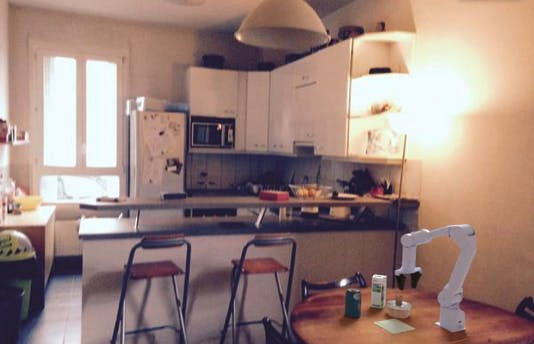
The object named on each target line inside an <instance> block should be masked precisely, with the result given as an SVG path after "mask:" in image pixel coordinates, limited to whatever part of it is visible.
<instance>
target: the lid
mask: <svg viewBox="0 0 534 344" xmlns="http://www.w3.org/2000/svg"><path fill="white" fill-rule="evenodd" d="M403 298H404V297H403V294H396V295H395V299H394V300H393V299H392V300H387V301H385V307H387V309H388V308H390V309H393V310H397V311H409V312H410V311H411V310H412V309H413V306H412V304H410V303H409V302H406V301H403Z"/></svg>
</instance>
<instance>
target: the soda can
mask: <svg viewBox="0 0 534 344" xmlns="http://www.w3.org/2000/svg"><path fill="white" fill-rule="evenodd" d="M362 295H363V294H362V291H361V289H360V288H358V287H348V288H347V290H346V291H345V298H344V299H345V300H344V301H345V303H344V314H345V316H346V317H347V318H351V319H358V318H360V316H361V314H362Z"/></svg>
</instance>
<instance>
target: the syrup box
mask: <svg viewBox="0 0 534 344" xmlns="http://www.w3.org/2000/svg"><path fill="white" fill-rule="evenodd" d="M387 277H388V275H381V274H373V276H371V278H372V279H371V298H370V307H371V308H378V309H384V308H385V307H386V302H387V301H386V297H387V295H386V294H387V279H388V278H387Z"/></svg>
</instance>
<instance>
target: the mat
mask: <svg viewBox="0 0 534 344" xmlns="http://www.w3.org/2000/svg"><path fill="white" fill-rule="evenodd" d="M373 324H375V325H377V326H378V327H380V328H382V329H384V330H385V331H387V332H389V333H390V334H392V335H395V334H400V333H404V332H408V331H413V330H416V328H415V327H412V326H411V325H409V324H407V323H405V322H403V321H401V320H399V319H398V318H395V317H393V318H390V319H385V320H380V321H375V322H373Z"/></svg>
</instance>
